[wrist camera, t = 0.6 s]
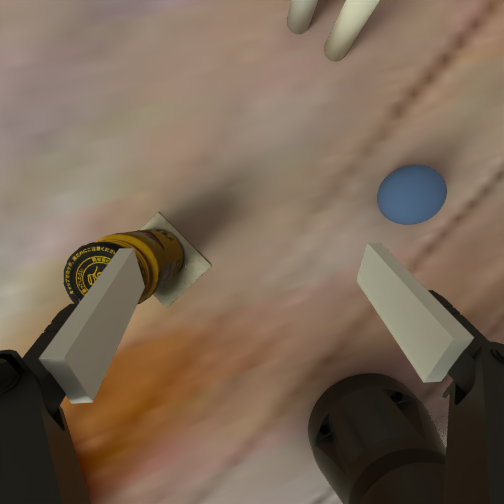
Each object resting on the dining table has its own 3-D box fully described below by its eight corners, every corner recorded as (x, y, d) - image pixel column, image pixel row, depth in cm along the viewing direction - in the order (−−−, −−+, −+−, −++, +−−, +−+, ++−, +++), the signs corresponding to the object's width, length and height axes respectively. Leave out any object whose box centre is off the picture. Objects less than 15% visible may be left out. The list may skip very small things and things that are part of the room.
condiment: (158, 212, 28) (96, 209, 16) (211, 265, 29) (189, 299, 17) (114, 255, 29) (22, 284, 17) (167, 306, 30) (116, 367, 18)
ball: (425, 209, 29) (472, 208, 23) (377, 232, 29) (412, 236, 23) (407, 161, 28) (451, 146, 22) (359, 184, 28) (389, 176, 22)
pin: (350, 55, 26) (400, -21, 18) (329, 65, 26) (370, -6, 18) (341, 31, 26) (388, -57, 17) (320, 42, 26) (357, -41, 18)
